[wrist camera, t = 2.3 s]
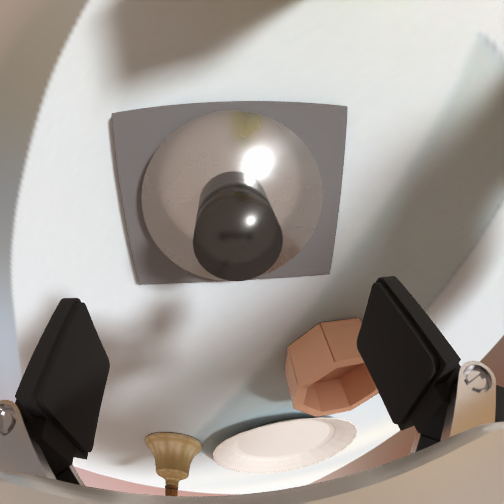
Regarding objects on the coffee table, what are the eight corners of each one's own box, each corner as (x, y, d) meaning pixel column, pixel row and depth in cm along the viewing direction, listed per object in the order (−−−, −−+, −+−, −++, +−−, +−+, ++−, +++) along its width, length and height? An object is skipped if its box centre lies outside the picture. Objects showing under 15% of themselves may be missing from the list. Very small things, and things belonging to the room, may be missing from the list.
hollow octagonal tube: (382, 314, 26) (403, 348, 22) (360, 373, 30) (373, 404, 26) (290, 325, 25) (301, 366, 21) (282, 385, 29) (290, 420, 26)
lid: (324, 112, 16) (367, 122, 11) (311, 269, 22) (336, 324, 17) (136, 117, 15) (99, 130, 10) (157, 278, 21) (142, 336, 16)
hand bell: (145, 449, 36) (141, 539, 23) (144, 427, 33) (137, 536, 19) (198, 455, 38) (202, 545, 24) (205, 435, 34) (211, 542, 21)
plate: (219, 404, 31) (220, 420, 29) (377, 396, 35) (382, 409, 33) (207, 462, 41) (207, 473, 39) (323, 456, 44) (325, 466, 42)
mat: (343, 105, 17) (347, 106, 16) (327, 269, 22) (329, 274, 22) (115, 112, 15) (111, 113, 15) (140, 279, 21) (139, 284, 21)
